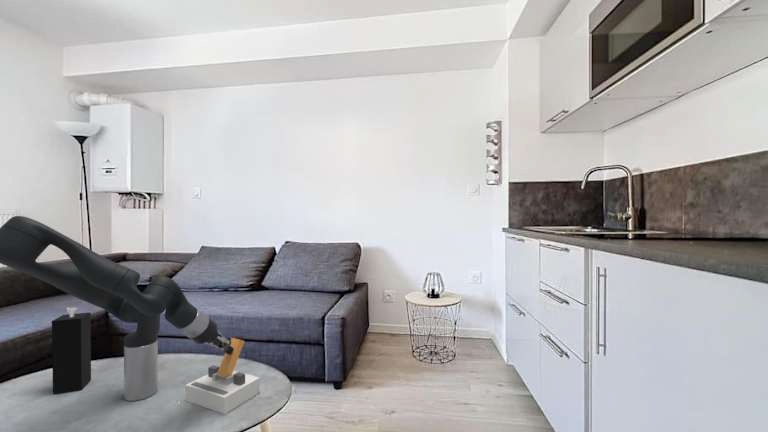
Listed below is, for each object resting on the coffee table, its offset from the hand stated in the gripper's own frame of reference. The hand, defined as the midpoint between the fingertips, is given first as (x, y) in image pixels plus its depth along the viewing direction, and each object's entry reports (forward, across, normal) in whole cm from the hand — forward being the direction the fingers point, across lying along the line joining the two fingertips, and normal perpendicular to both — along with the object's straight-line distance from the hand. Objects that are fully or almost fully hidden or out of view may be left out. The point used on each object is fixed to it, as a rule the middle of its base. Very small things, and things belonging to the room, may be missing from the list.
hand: (230, 351), depth 116 cm
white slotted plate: (+8, 0, -12) cm, 14 cm away
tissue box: (-5, -53, -25) cm, 59 cm away
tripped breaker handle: (+3, 0, -7) cm, 8 cm away
